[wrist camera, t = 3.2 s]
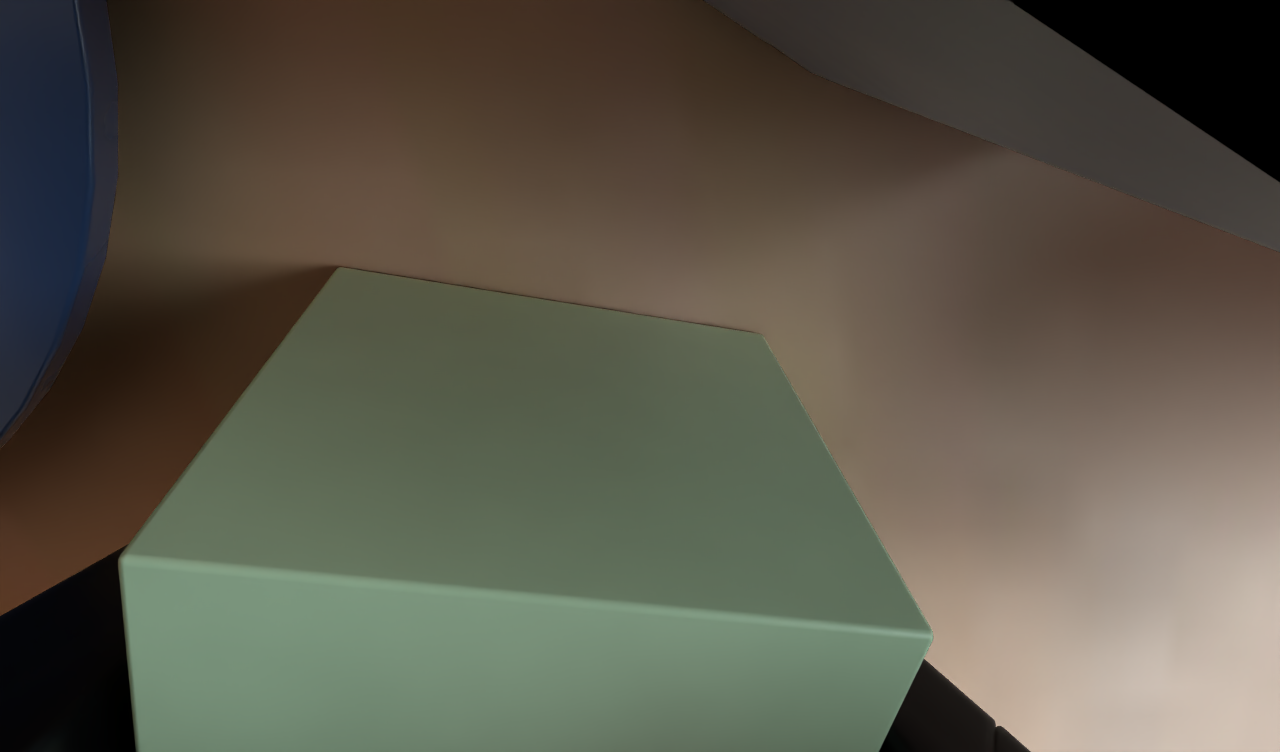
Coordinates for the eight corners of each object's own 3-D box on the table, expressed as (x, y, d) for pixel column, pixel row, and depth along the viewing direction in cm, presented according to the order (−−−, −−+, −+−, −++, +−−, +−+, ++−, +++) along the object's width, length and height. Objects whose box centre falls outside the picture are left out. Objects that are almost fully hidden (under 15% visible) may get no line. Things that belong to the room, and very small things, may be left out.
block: (672, 638, 11) (742, 1037, 7) (321, 606, 10) (160, 1039, 6) (763, 333, 9) (938, 635, 5) (338, 264, 8) (111, 557, 4)
